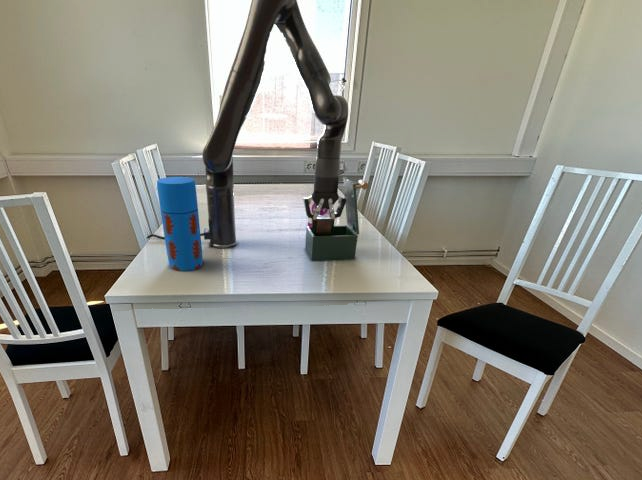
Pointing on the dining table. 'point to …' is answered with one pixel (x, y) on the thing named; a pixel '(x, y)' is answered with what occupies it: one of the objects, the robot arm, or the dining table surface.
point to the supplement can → (322, 212)
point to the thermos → (180, 222)
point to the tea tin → (331, 244)
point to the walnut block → (323, 224)
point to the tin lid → (352, 202)
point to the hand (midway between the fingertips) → (322, 230)
